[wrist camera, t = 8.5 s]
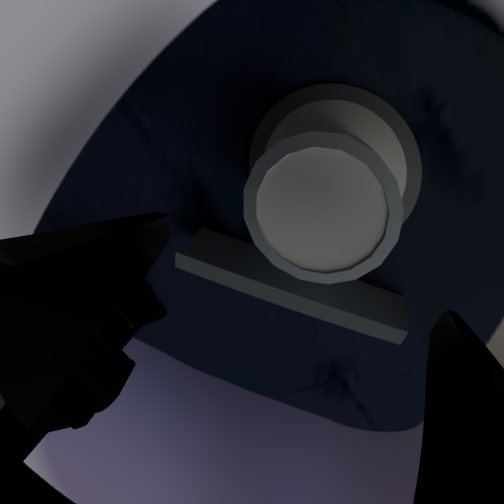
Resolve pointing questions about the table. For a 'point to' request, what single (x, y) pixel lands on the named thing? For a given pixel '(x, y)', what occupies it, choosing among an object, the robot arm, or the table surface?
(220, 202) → the table surface
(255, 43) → the table surface
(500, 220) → the table surface
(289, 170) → the shot glass
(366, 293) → the low wall
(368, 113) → the grey round disc
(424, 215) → the table surface
